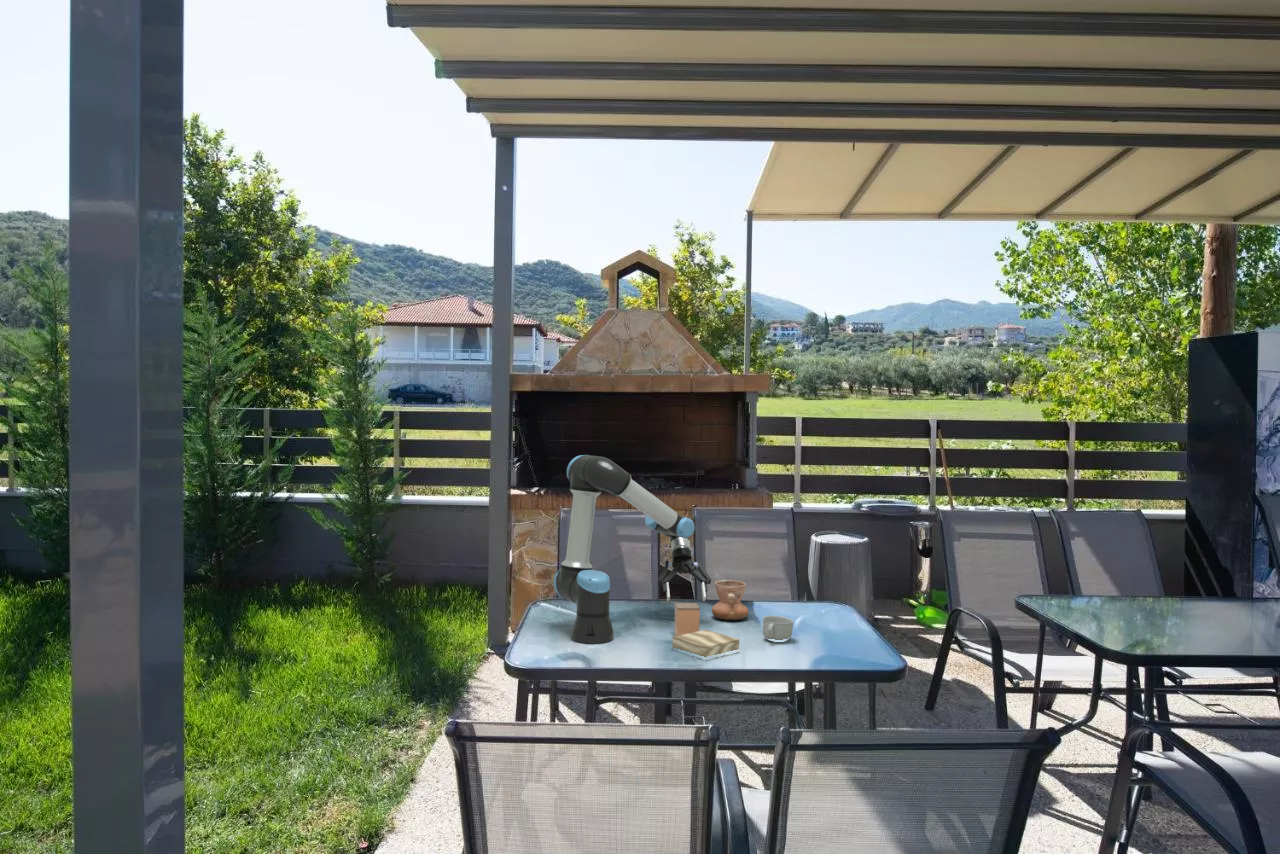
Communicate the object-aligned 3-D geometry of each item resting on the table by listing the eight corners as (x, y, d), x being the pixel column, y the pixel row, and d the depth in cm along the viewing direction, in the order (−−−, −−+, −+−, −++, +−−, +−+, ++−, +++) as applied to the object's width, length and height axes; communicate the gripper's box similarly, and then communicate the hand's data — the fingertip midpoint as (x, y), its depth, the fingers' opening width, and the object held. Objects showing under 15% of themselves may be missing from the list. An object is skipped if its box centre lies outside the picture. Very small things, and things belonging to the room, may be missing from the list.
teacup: (772, 635, 321) (772, 613, 321) (798, 640, 314) (799, 618, 314) (752, 642, 310) (752, 620, 310) (778, 648, 303) (779, 625, 303)
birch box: (705, 662, 287) (705, 647, 287) (672, 651, 299) (672, 636, 299) (739, 653, 297) (739, 639, 297) (706, 643, 309) (706, 629, 309)
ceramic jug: (749, 624, 337) (750, 587, 336) (711, 623, 337) (712, 586, 337) (746, 613, 354) (747, 578, 354) (711, 612, 355) (711, 577, 355)
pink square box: (677, 638, 314) (677, 608, 314) (674, 632, 322) (674, 603, 322) (699, 638, 315) (699, 608, 315) (695, 632, 323) (696, 603, 322)
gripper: (711, 557, 346) (717, 604, 331) (648, 557, 343) (652, 604, 329) (714, 546, 340) (721, 593, 326) (650, 546, 338) (654, 593, 323)
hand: (686, 599), depth 327 cm, fingers open, 13 cm apart
